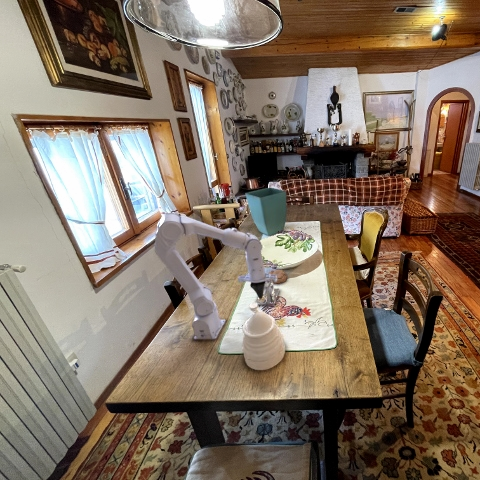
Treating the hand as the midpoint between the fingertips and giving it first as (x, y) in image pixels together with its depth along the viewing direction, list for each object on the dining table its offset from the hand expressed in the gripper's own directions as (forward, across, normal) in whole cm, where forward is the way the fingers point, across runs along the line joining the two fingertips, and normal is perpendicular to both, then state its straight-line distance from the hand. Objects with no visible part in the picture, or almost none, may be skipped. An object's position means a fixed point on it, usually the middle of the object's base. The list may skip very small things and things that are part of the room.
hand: (261, 296), depth 99 cm
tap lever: (+2, 0, -4) cm, 5 cm away
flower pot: (+7, +16, -84) cm, 86 cm away
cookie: (+7, -1, -23) cm, 24 cm away
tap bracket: (+7, 0, -8) cm, 10 cm away
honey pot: (+7, -6, +21) cm, 23 cm away
